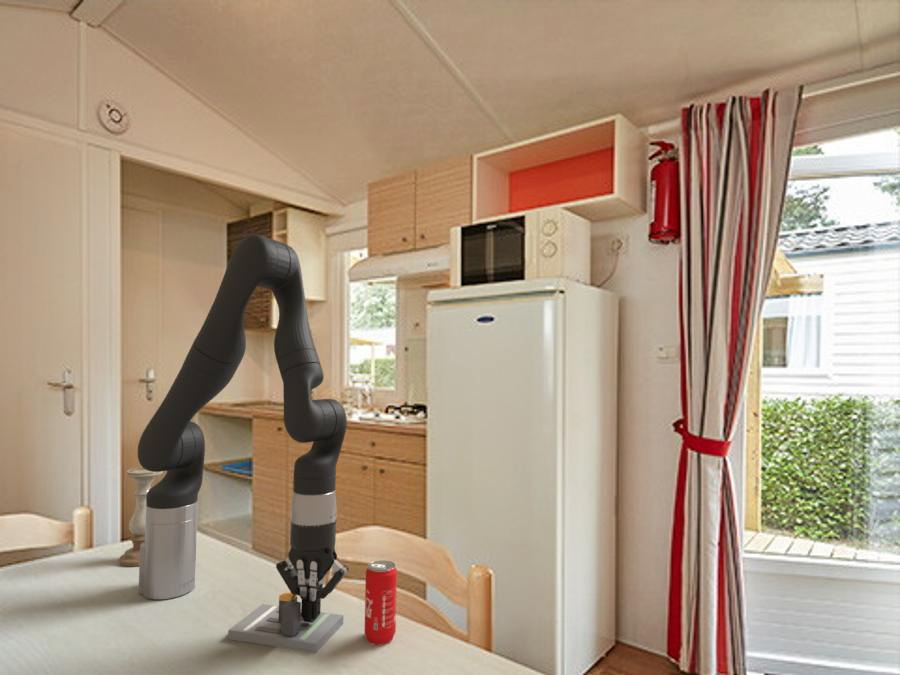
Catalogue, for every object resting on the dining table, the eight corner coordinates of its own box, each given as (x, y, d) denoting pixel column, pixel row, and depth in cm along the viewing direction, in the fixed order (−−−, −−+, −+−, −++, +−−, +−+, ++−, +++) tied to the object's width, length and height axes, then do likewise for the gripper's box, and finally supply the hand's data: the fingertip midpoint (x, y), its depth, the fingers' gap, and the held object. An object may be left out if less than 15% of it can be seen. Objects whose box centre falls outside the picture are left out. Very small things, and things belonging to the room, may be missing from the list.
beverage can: (390, 647, 89) (391, 572, 90) (359, 644, 90) (361, 569, 91) (399, 632, 94) (400, 561, 95) (370, 628, 95) (372, 558, 96)
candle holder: (171, 555, 128) (174, 467, 129) (140, 569, 120) (143, 475, 121) (142, 550, 131) (145, 465, 132) (109, 563, 123) (112, 472, 123)
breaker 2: (281, 634, 89) (281, 606, 90) (288, 628, 91) (288, 600, 92) (293, 636, 89) (294, 608, 89) (300, 629, 91) (300, 602, 91)
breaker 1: (278, 622, 93) (279, 596, 93) (285, 617, 95) (286, 590, 95) (290, 624, 93) (290, 597, 93) (296, 618, 95) (297, 592, 95)
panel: (228, 639, 91) (228, 629, 91) (262, 612, 101) (262, 603, 101) (316, 653, 87) (316, 642, 87) (343, 623, 97) (343, 614, 97)
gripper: (266, 519, 92) (263, 625, 91) (339, 527, 88) (336, 636, 88) (290, 507, 99) (287, 605, 98) (358, 514, 96) (355, 615, 95)
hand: (310, 620), depth 93 cm, fingers closed
